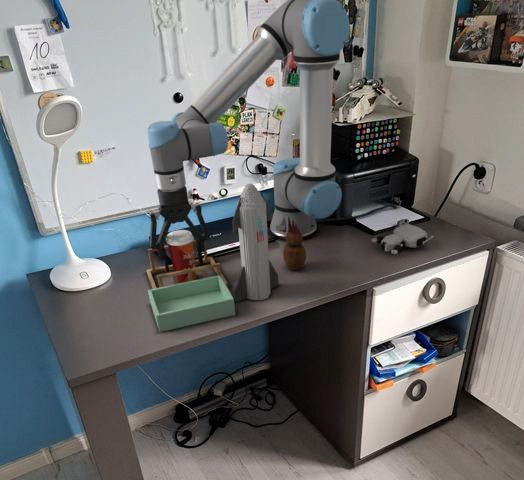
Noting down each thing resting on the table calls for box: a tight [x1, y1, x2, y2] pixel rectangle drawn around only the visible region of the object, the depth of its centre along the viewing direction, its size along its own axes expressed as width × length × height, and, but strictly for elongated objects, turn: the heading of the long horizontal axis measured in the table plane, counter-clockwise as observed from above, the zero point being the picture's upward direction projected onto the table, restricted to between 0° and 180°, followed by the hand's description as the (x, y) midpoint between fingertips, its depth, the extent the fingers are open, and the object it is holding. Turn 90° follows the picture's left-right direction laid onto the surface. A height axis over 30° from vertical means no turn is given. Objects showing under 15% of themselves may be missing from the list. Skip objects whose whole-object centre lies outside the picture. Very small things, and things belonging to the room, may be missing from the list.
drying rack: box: [145, 238, 229, 289], centre depth 149 cm, size 20×18×8 cm
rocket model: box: [231, 183, 279, 303], centre depth 134 cm, size 14×7×30 cm, turn 124°
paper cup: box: [165, 229, 197, 284], centre depth 147 cm, size 8×8×14 cm
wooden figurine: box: [282, 217, 307, 271], centre depth 149 cm, size 7×6×15 cm
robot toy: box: [371, 222, 434, 255], centre depth 159 cm, size 12×4×15 cm
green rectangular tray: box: [147, 274, 236, 333], centre depth 136 cm, size 20×14×5 cm
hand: (184, 265), depth 148 cm, fingers open, 9 cm apart
